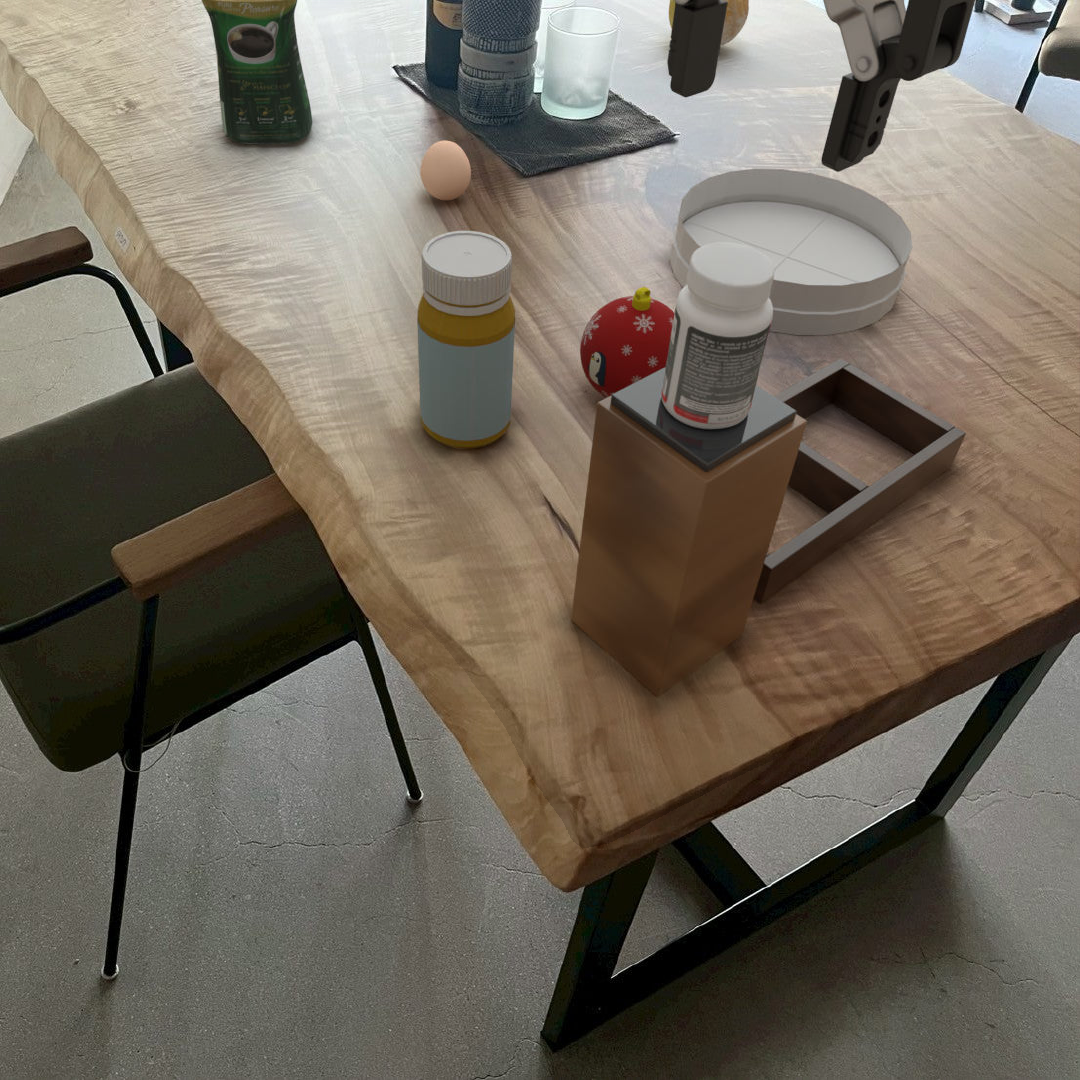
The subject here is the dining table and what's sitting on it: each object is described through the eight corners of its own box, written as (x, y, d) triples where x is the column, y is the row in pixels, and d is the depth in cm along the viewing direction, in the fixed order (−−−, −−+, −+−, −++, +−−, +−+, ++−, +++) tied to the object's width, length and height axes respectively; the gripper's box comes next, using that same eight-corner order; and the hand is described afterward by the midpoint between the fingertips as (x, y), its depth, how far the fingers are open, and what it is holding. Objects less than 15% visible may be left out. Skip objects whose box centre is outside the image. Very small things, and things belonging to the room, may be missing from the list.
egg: (414, 189, 108) (412, 134, 104) (460, 183, 110) (460, 128, 106) (430, 213, 105) (429, 156, 101) (477, 205, 107) (478, 149, 103)
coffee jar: (314, 117, 119) (296, -65, 106) (311, 148, 114) (292, -39, 100) (227, 116, 118) (197, -67, 105) (220, 148, 112) (188, -42, 99)
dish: (930, 260, 104) (946, 214, 101) (848, 365, 91) (864, 316, 87) (729, 192, 112) (738, 147, 108) (627, 279, 98) (633, 231, 95)
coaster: (794, 419, 56) (797, 410, 55) (706, 473, 52) (708, 464, 52) (698, 357, 59) (700, 348, 59) (610, 403, 56) (611, 394, 55)
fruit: (648, 48, 139) (658, -34, 132) (693, 29, 145) (705, -51, 138) (711, 71, 135) (726, -12, 128) (755, 50, 141) (771, -31, 134)
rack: (951, 467, 82) (966, 432, 79) (760, 605, 71) (771, 569, 68) (829, 391, 88) (840, 357, 85) (635, 507, 77) (641, 471, 74)
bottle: (412, 403, 84) (405, 232, 73) (496, 391, 85) (502, 222, 75) (432, 459, 79) (428, 286, 68) (521, 445, 81) (530, 274, 70)
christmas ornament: (701, 403, 86) (723, 298, 79) (622, 441, 82) (638, 334, 75) (633, 352, 90) (648, 248, 83) (554, 385, 86) (563, 279, 79)
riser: (742, 635, 69) (808, 420, 56) (657, 697, 65) (706, 482, 52) (655, 565, 73) (698, 350, 60) (570, 619, 69) (596, 402, 56)
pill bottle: (767, 416, 55) (805, 276, 49) (695, 442, 53) (725, 299, 47) (713, 368, 58) (743, 229, 52) (642, 390, 56) (665, 250, 50)
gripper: (630, -394, 35) (587, 89, 47) (999, -334, 28) (842, 219, 40) (772, -394, 39) (701, 54, 51) (1131, -341, 32) (952, 167, 43)
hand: (763, 126), depth 45 cm, fingers open, 8 cm apart
